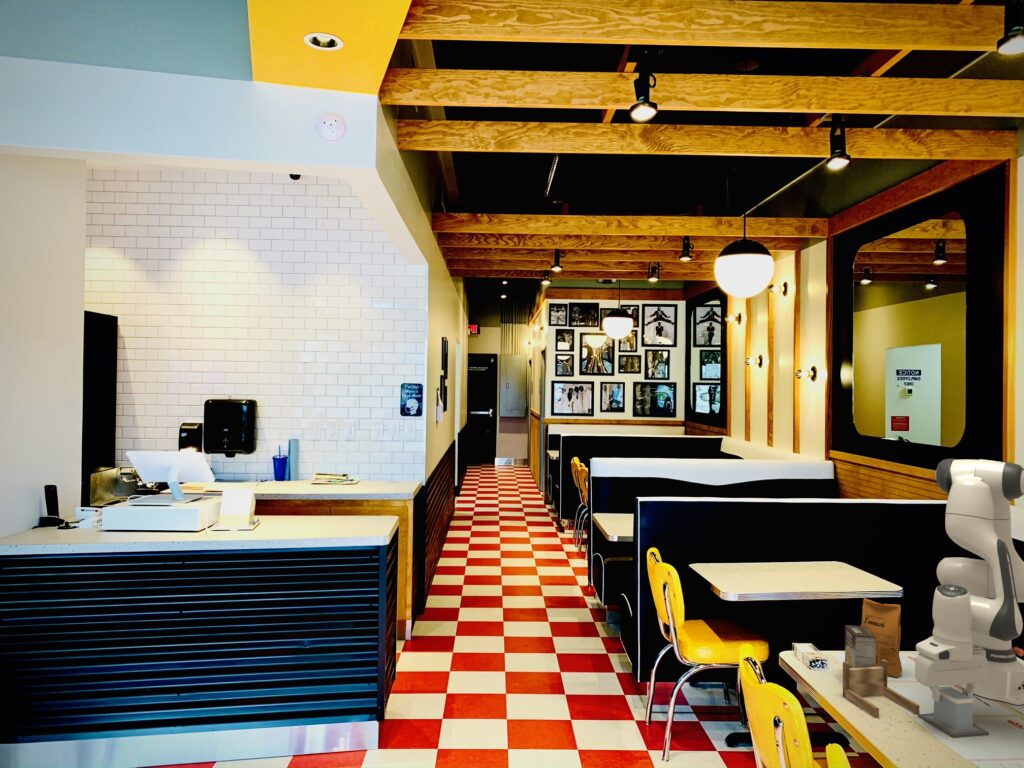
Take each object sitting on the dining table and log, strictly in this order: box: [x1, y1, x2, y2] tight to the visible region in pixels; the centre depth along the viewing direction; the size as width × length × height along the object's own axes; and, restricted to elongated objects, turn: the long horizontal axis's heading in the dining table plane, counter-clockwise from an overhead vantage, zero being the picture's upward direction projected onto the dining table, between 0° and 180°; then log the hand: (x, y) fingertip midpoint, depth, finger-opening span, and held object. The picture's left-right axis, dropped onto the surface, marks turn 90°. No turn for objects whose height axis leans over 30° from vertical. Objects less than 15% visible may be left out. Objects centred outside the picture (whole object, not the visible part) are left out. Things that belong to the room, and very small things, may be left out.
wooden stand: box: [842, 659, 920, 719], centre depth 176 cm, size 14×13×10 cm
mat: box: [917, 712, 990, 739], centre depth 165 cm, size 11×11×1 cm
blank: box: [933, 685, 974, 730], centre depth 165 cm, size 5×7×8 cm
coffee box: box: [844, 624, 876, 668], centre depth 191 cm, size 9×6×16 cm
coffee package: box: [860, 598, 903, 678], centre depth 201 cm, size 10×12×22 cm
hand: (952, 699), depth 166 cm, fingers open, 8 cm apart
